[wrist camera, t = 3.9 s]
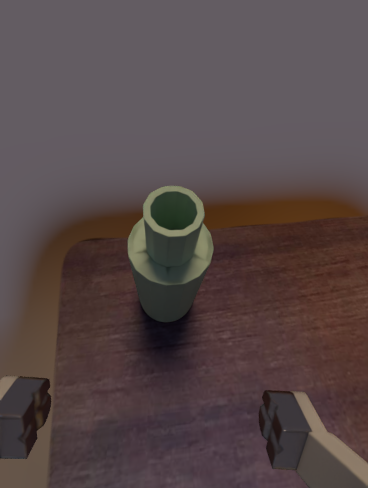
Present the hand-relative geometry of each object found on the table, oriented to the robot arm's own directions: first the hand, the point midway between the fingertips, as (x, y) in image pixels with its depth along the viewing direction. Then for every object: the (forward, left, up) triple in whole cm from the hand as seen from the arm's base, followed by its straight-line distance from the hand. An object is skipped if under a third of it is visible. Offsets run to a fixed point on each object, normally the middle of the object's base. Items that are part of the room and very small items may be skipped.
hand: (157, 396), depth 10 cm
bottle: (+1, +8, -16) cm, 18 cm away
